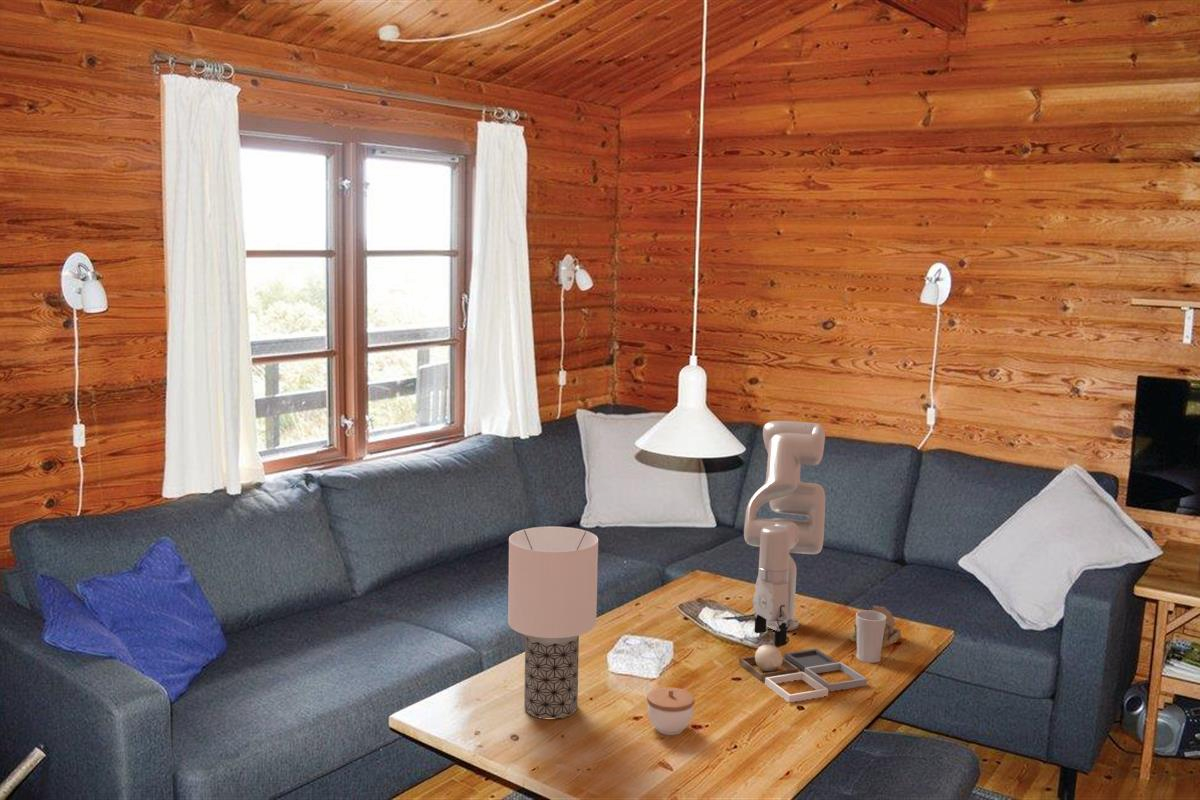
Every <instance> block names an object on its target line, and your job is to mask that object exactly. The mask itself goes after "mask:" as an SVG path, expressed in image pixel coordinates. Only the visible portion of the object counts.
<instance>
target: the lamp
mask: <svg viewBox="0 0 1200 800" xmlns="http://www.w3.org/2000/svg"><path fill="white" fill-rule="evenodd" d="M598 562H599V538H598V536H597V534H594V533H593V532H590V531H588V530H584V529H581V528H576V527H567V526H536V527H530V528H529V527H528V528H525V529H521V530H518V531H514V532H513V533H512V534H510V536H509V538H508V585H507V586H508V593H507V594H508V595H507V596H508V597H507V599H508V601H507V602H508V605H507V607H508V608H507V617H508V618H507V624H508V626H509V627H510V628H511V629H512V630H513V631H515V632H516V633H519V634H521V635H524V636H525V637H524V692H523V693H524V700H523V701H524V706H523V707H524V710H525V711H526V713H527V714H528V715H530V714H531V715H530V716H532V715H534V716H536V717H535V718H537V717H541V718H561V719H563V718H562V717H565V718H567V717H566V716H568V717H569V715H570V716H571V714H572V715H574V713H575V712H576V711H577V709H578V703H579V702H578V700H579V699H578V697H579V696H578V695H579V690H578V689H579V656H580V655H579V652H580V651H579V649H580V648H579V647H580V645H579V644H580V640H579V639H580V635H584V634H586V633H589V632H590V631H592V630H593V629H594V628H595V627H596V625H597V603H598V601H597V600H598ZM534 716H533V717H534ZM541 718H540V719H541Z"/></svg>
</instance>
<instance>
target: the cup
mask: <svg viewBox="0 0 1200 800" xmlns="http://www.w3.org/2000/svg"><path fill="white" fill-rule="evenodd" d="M869 610H870V609H869ZM869 610H866V609H865V610H859V611H857V612H856V613H855V623H856V626H857V642H856V656H855V657H857V658H856V659H857V660H858V659H859V660H858V661H860V662H863V663H869V664H870V663H871V664H872V663H873V664H874V663H875V662H876V663H879V662H880V661H881V656H882V648H883V647H882V642H883V635H884V629H885V623H886V616H885V615H884V614H882V613H880V612H876V611H869Z"/></svg>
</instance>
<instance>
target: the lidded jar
mask: <svg viewBox="0 0 1200 800" xmlns="http://www.w3.org/2000/svg"><path fill="white" fill-rule="evenodd" d="M646 700H647V701H646V702H647V714H648V718H649V721H650V723H651V724H652V726H653V727H654V728H655V729H656V731H657V732H658V733H660V734H662V735H667V736H674V735H679V734H681V733H682V732H683V731H684V730H685V729H686V728H687V727H688V726H689V725H690V723H691V721H692V718H693V714H694V705H695V697H694V695H693V694H692V693H691V692H689V691H688V690H685V689H683V688H679V687H670V686H668V687H667V686H666V687H658V688H654V689H652V690H650V691H649V692H648V694H647V696H646Z"/></svg>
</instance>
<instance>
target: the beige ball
mask: <svg viewBox="0 0 1200 800" xmlns="http://www.w3.org/2000/svg"><path fill="white" fill-rule="evenodd" d="M754 654H755V655H754V656H755V661H756V663H755V664H756V666H757V667H758V668H759V669H760V670H762V671H764V672H775V671H776V670H777V669H778V668H780V667H781V666H782V665H781V664H782V661H783V658H784V657H783V654H782V653H781V651H780V649H779V648H778V646H775V645H773V644H768V643H767V644H763V645H760V646H759V647H758V648H757V649H756V651H755V653H754Z"/></svg>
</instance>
